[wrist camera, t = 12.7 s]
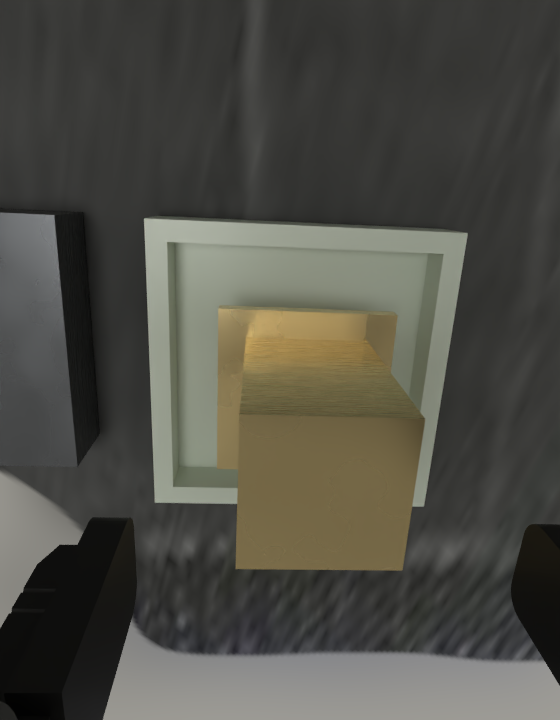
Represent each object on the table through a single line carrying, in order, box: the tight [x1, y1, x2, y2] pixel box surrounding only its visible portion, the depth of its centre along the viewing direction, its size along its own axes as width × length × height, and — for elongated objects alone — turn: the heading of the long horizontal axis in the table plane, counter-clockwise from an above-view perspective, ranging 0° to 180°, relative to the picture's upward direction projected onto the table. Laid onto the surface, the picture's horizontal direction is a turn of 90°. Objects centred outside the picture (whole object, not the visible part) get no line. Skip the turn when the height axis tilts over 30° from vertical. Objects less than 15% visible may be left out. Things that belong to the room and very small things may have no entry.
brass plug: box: [217, 305, 425, 570], centre depth 17 cm, size 6×6×10 cm
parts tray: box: [144, 216, 468, 507], centre depth 21 cm, size 12×12×2 cm
